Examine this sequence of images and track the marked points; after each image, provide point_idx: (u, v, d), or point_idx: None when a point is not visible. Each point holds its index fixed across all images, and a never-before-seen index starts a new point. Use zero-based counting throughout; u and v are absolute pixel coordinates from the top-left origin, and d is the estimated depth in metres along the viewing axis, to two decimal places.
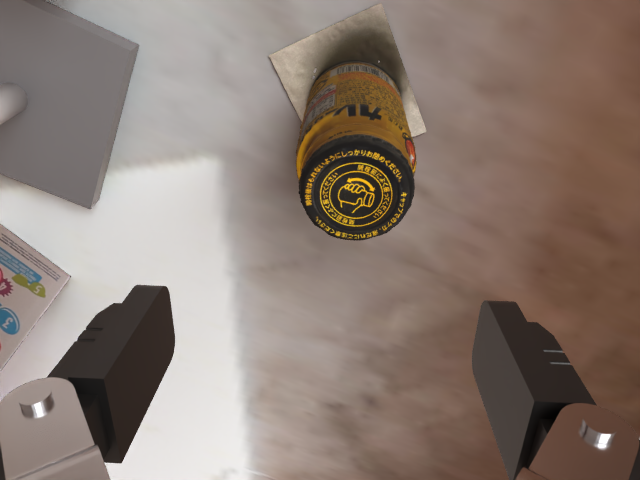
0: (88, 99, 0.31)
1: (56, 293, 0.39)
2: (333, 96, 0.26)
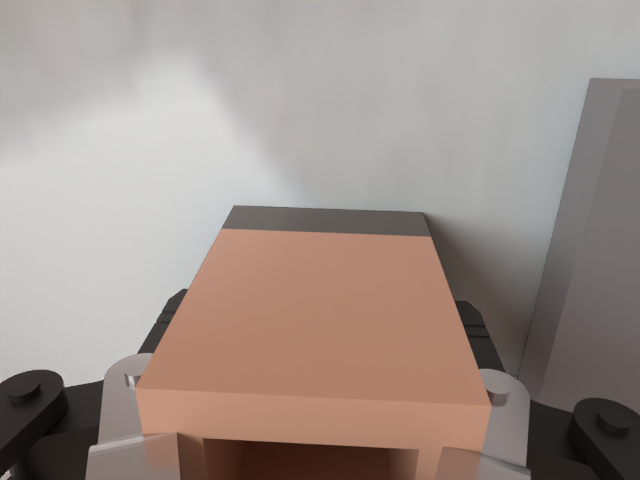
0: None
1: None
2: None
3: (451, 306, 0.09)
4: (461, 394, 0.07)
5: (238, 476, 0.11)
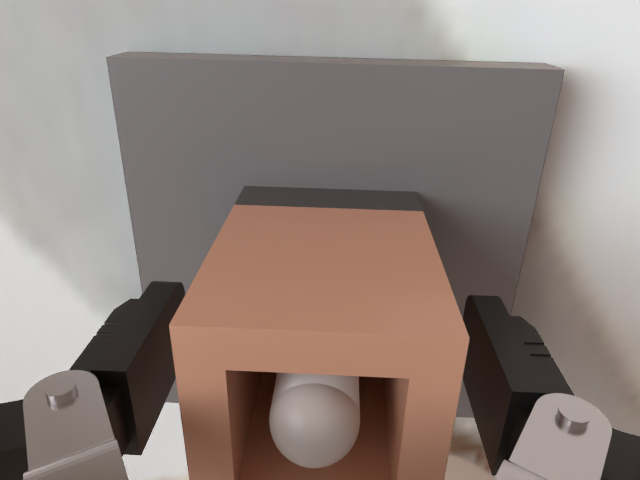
0: (260, 126, 0.14)
1: None
2: None
3: (439, 265, 0.11)
4: (444, 330, 0.08)
5: (251, 422, 0.12)
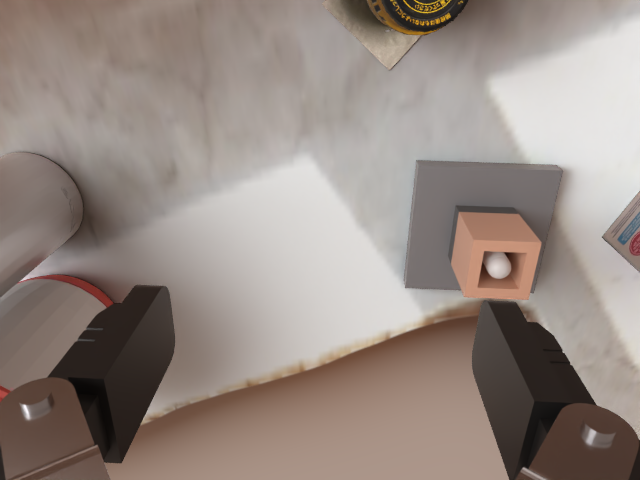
0: (464, 186, 0.43)
1: None
2: None
3: (529, 228, 0.40)
4: (535, 241, 0.38)
5: None
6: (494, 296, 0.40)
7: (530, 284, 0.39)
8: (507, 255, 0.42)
